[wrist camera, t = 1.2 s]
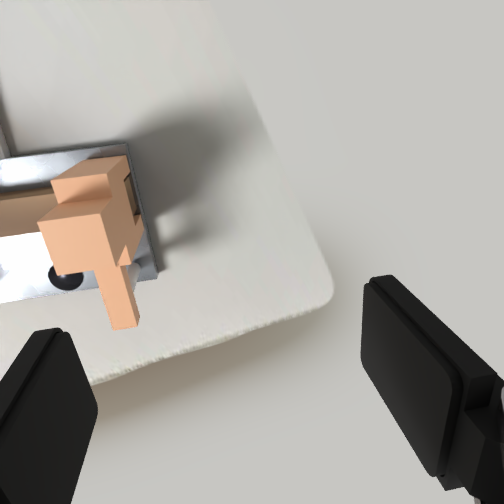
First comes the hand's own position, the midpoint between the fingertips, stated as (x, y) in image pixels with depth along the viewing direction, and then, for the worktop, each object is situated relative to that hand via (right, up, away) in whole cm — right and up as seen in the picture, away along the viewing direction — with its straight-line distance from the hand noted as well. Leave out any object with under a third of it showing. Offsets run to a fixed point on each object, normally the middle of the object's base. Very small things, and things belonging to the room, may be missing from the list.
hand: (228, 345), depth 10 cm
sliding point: (-9, +5, +17) cm, 20 cm away
